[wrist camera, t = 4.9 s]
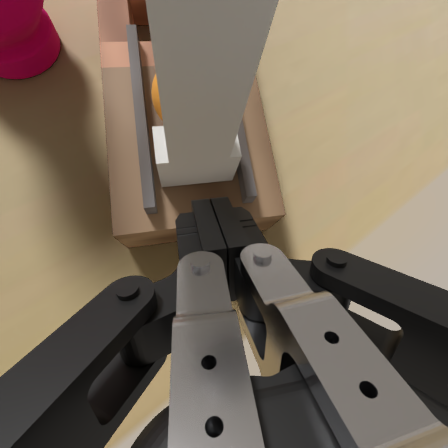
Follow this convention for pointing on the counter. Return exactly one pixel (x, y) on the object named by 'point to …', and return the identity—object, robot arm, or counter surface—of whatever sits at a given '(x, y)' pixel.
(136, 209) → the launcher track
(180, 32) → the launcher plunger
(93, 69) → the counter surface
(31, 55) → the pepper mill
